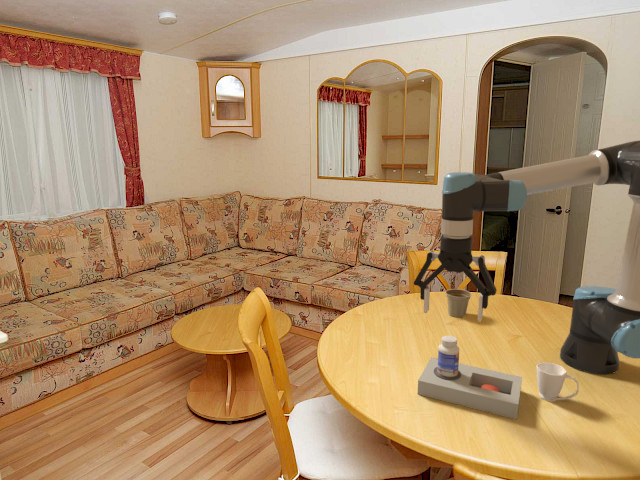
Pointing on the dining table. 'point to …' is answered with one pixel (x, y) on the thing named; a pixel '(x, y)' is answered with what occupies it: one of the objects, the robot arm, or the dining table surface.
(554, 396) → the cup
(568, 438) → the dining table surface
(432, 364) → the grey recessed tray
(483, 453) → the dining table surface
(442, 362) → the pill bottle
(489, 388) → the breaker button
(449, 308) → the flower pot
